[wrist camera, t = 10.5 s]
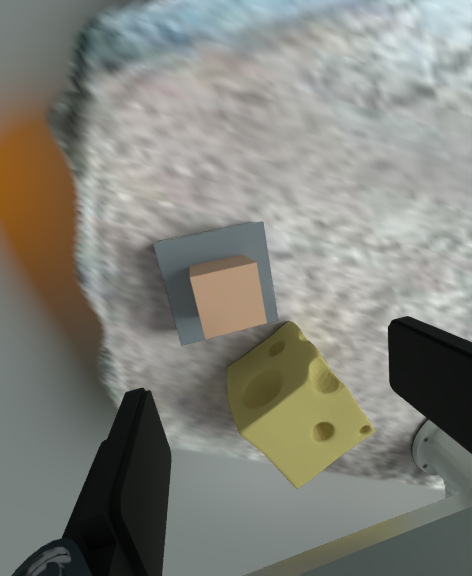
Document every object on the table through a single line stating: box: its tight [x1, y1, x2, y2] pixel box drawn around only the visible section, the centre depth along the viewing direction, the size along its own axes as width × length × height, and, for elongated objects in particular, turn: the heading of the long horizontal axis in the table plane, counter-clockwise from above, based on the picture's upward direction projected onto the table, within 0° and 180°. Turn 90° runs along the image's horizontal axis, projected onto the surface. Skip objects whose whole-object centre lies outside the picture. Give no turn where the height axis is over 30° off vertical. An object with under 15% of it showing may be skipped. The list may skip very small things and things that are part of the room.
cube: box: [189, 254, 267, 339], centre depth 21 cm, size 5×5×5 cm
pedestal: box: [153, 222, 278, 346], centre depth 26 cm, size 10×10×4 cm
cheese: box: [227, 321, 375, 489], centre depth 27 cm, size 10×11×10 cm
